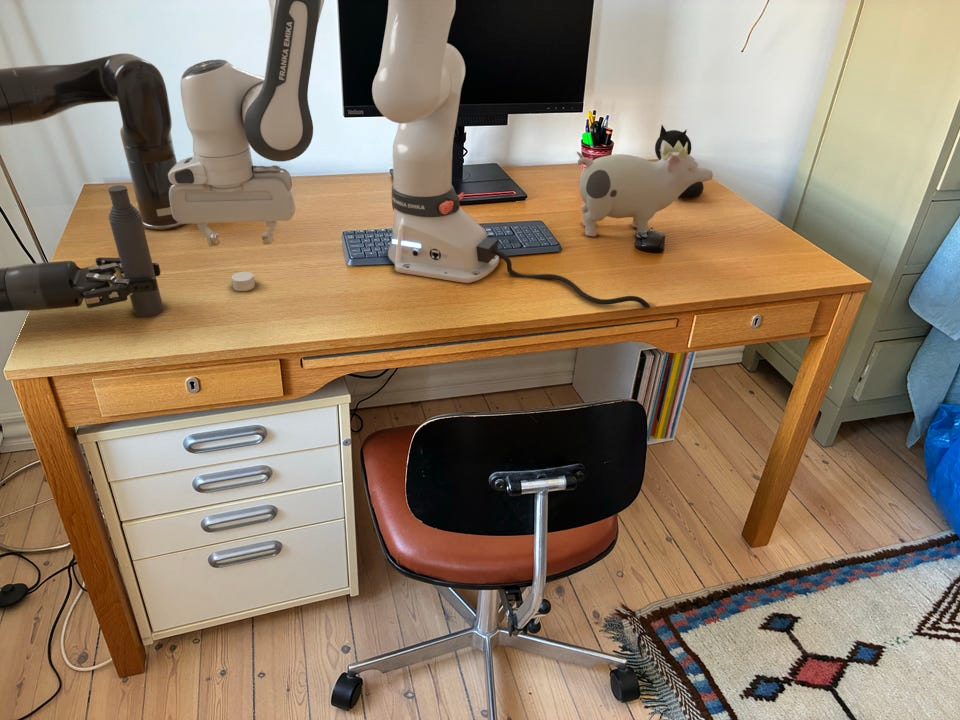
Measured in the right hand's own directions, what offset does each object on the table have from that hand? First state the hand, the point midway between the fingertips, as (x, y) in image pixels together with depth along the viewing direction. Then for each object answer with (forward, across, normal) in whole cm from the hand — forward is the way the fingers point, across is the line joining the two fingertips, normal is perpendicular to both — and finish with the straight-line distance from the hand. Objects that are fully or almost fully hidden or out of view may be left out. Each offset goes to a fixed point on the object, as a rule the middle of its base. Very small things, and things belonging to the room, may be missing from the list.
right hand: (241, 244), depth 125 cm
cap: (+7, +1, 0) cm, 7 cm away
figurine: (+12, -77, -27) cm, 82 cm away
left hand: (+2, +13, +8) cm, 15 cm away
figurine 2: (+12, -94, -53) cm, 108 cm away
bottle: (+8, +15, +8) cm, 19 cm away
